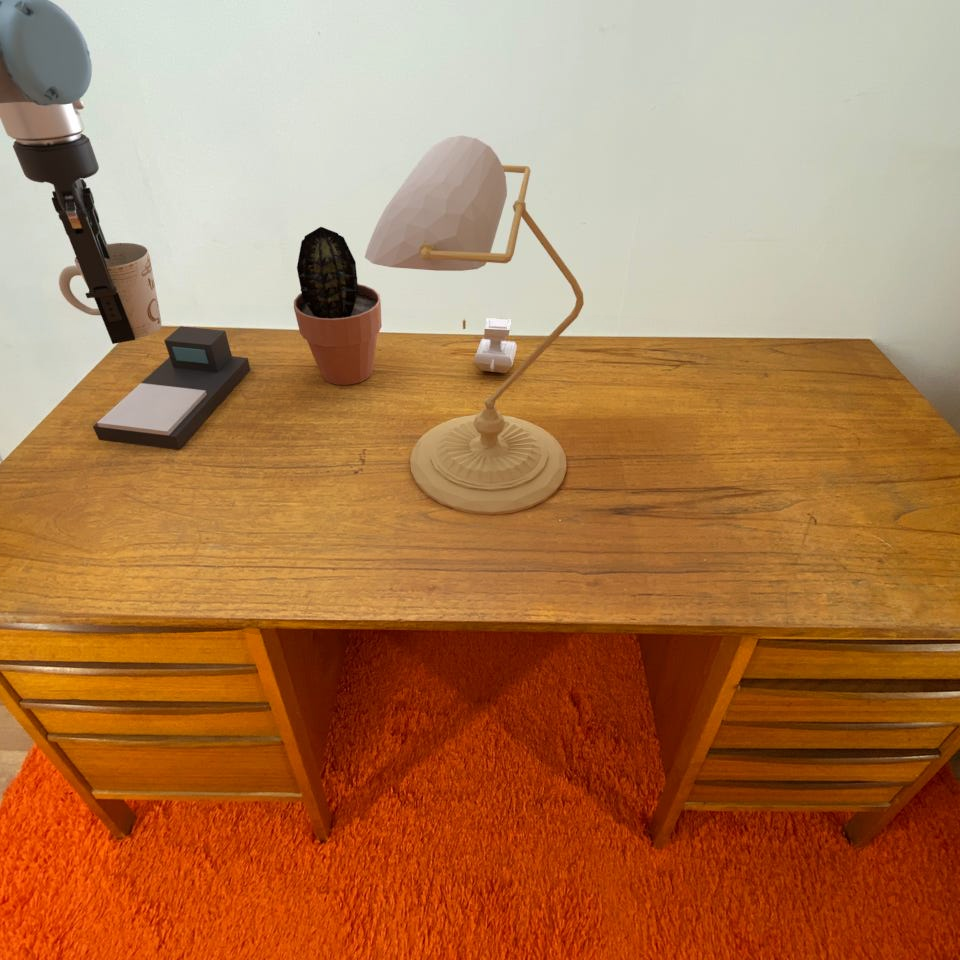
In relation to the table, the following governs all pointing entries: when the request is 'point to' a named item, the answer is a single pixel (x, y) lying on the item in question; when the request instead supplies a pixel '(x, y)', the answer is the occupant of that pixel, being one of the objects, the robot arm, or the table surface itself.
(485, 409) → the desk lamp
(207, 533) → the table surface
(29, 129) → the robot arm
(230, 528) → the table surface
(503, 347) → the stamp
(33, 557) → the table surface
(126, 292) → the mug
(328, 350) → the potted plant
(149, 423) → the scale
